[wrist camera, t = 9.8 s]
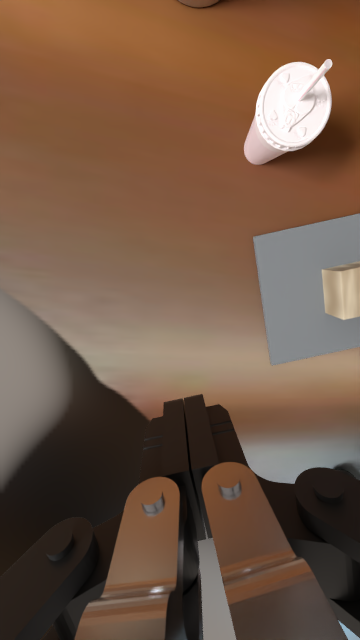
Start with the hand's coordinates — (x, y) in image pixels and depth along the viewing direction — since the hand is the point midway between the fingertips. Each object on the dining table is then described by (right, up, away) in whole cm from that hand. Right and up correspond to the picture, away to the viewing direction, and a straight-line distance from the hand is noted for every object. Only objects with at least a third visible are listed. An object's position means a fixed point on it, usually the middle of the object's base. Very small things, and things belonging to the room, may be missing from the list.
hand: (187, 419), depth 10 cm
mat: (+23, +8, +27) cm, 36 cm away
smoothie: (+9, +24, +22) cm, 34 cm away
